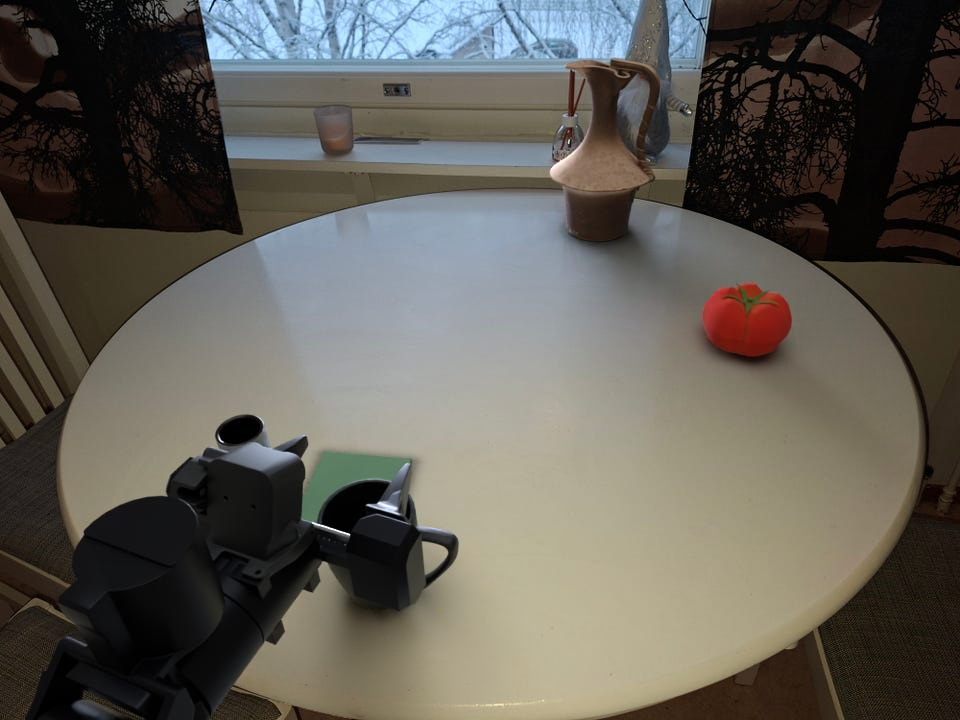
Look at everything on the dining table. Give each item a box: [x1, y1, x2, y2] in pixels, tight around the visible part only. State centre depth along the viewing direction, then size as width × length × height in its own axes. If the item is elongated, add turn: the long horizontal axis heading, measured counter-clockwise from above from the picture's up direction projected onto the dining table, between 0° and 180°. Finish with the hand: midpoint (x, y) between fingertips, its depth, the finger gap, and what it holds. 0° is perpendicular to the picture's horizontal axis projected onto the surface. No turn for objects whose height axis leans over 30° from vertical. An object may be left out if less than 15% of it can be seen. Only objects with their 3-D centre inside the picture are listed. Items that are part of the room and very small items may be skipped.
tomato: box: [701, 282, 793, 357], centre depth 88 cm, size 11×11×8 cm
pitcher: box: [549, 57, 661, 242], centre depth 111 cm, size 18×17×28 cm
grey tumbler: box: [214, 413, 272, 452], centre depth 67 cm, size 4×4×10 cm
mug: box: [317, 479, 460, 611], centre depth 59 cm, size 8×12×10 cm
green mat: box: [301, 450, 413, 524], centre depth 71 cm, size 10×10×1 cm
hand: (356, 453), depth 53 cm, fingers open, 9 cm apart
